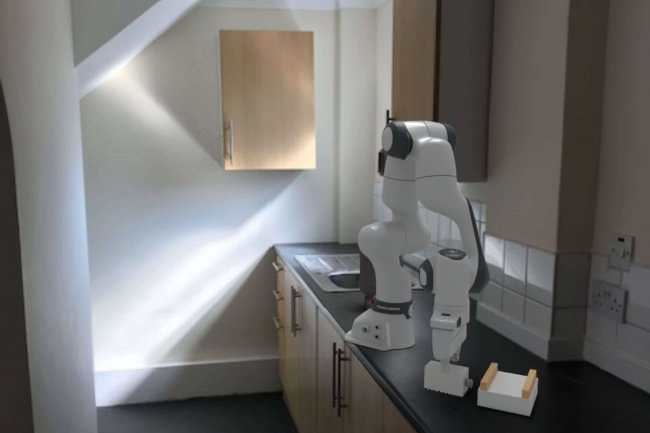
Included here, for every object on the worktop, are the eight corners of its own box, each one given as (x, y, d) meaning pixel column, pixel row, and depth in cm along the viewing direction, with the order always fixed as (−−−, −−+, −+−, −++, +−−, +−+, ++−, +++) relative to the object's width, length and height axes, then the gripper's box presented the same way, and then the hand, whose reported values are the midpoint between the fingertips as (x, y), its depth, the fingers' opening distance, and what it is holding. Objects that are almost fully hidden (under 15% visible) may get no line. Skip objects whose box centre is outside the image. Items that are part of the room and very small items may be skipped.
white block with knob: (424, 388, 147) (424, 366, 146) (430, 382, 151) (430, 360, 150) (468, 398, 141) (469, 375, 141) (473, 391, 146) (474, 368, 145)
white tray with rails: (477, 405, 137) (478, 381, 137) (489, 384, 150) (490, 362, 149) (529, 416, 132) (531, 391, 131) (537, 393, 144) (538, 370, 144)
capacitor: (381, 315, 210) (383, 235, 207) (351, 309, 218) (352, 232, 215) (400, 307, 221) (401, 231, 217) (370, 302, 229) (372, 228, 225)
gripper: (449, 302, 155) (448, 352, 156) (428, 322, 136) (427, 377, 138) (472, 305, 152) (471, 355, 153) (454, 325, 134) (453, 382, 135)
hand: (450, 366), depth 145 cm, fingers open, 8 cm apart
